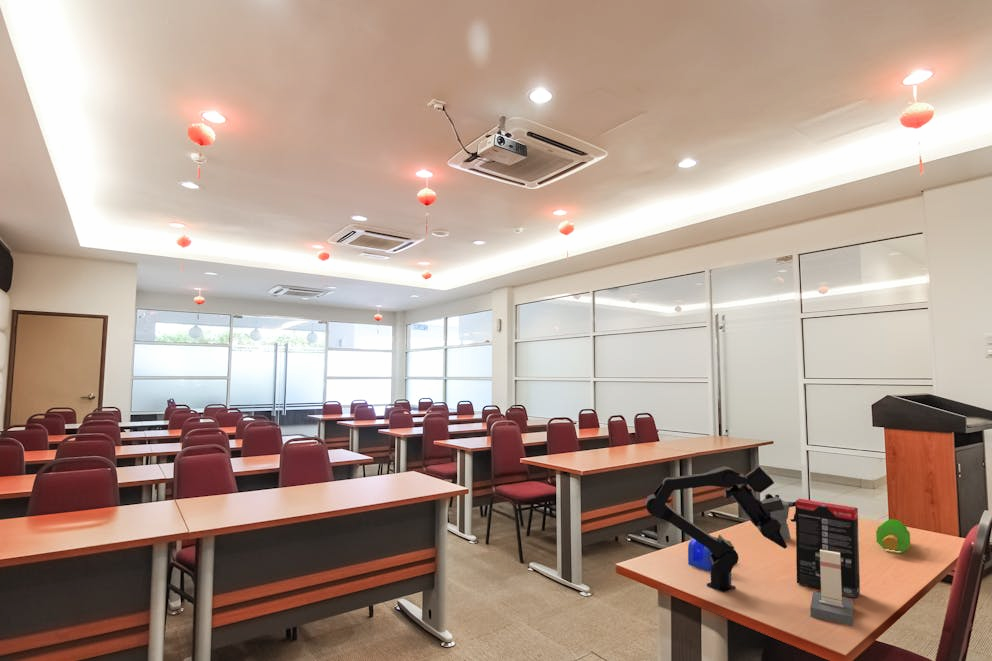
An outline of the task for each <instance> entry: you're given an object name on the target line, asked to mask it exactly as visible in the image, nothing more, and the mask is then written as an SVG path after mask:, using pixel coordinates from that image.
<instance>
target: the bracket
mask: <svg viewBox="0 0 992 661" xmlns="http://www.w3.org/2000/svg"><path fill="white" fill-rule="evenodd" d="M711 554H712V553H711V552H710V550H709V549H708V548H706V547H705V546H703V545H702V544H701V543H699V542H698V541H696V540H695V539H693V538H692V537H691V539H690V540H689V542H688V546H687V561H688V562H687V563H688V564H687V565H689V566H691V567H695V568H698V569H701V570H703V571H705V572H708V571H709V572H711V565H713V564H712V563H711V560H710V558H709V556H710V555H711Z"/></svg>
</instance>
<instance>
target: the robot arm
mask: <svg viewBox="0 0 992 661" xmlns="http://www.w3.org/2000/svg"><path fill="white" fill-rule="evenodd" d="M774 484H775V482H774V480H773V478H771V477H770V475H769V474H767V473H766V472H765V471H764V469H762V468H761V467H760V466H759V465H756V466H755V467H754V468H753V469H752V470H751V471H749V472H748V473H747V474H745V475H744V473H743V474H742V473H739V472H736V471H734V469H733V468H731V467H729V466H725V465H724V466H720V467H717V468H714V469H712V470H709V471H708V472H703V473H696V474H688V475H681V476H672V477H665V478H664V479H663V480H662V481H661V484H659V486H658V487H657V488H656V489H655V490H654V492H653V493H652V494H649V495H648V496H647V497H646V499H645V506H646V511H647V513H648V514H650V515H651V516H653V517H656V518H658V519H659V520H662V521H664V522H668V523H670V524H671V525H673V526H674V527H676V528H677V529H678V530H681V531H682V532H683V533H685V534H686V535H687V536H689V537H690V538H691V539H692V538H693V539H695V540H696V541H698V542H699V543H701V544H702V545H703V546H705V547H706V548H708V549H709V550H710V552H711V553H712V554H711V555H710V556H709V558H710V560H711V563H712V564H713V565H711V571H710V582H707V583H706V586H707V587H709V588H712V589H715V590H718V591H720V592H723V593H726V592H728V591H731V590H732V591H733V590H734V589H737V587H736V586H735V585H733V584H732V572H733V568H734V566H735V565H737V564H738V562H739V554H738V552H737V551H736V549H735V547H734V545H733V544H732V542H731V541H730V540H727V539H725V538H724V537H723V536H722V535H721V534H719V535H718V536H717V537H715V536H712V535H710V534H709V533H708V532H706V531H705V530H703V529H702V528H700V527H699V526H697V525H696V524H694V523H692V522H691V521H690V520H688V519H687V518H685V517H684V516H683V515H681V514H679V513H678V512H677V511H675V510H674V509H673V508H672V507H671V506H670V505H669V504H668V503H667V502H668V500H669V499H670V497H671V495H672V494H673V492H674V491H679V490H686V489H687V490H688V489H693V488H702V487H718V488H724V489H723V490H724V493H723V496H724V497H725V498H726V499H729V498H731V497H732V499H733V500H734V501H735V502H736V503H737V505H738V506H739V508H741V510H742V511H743V512H744V513H745V514H746V515H747V519H748V520H749V521H750V522H751V523H752V525H754V526H755V527H756V528H757V530H758V531H759V532H760V534H761V535H762V536H763V538H766V539H767V540H770V541H771V542H773V543H775V544H776V545H778V546H779V547H781V548H783V549H787V548H788V545H787V543H786V541H784V539H783V537H782V535H781V533H780V528H781V524H780V523H779V522H778V521H777V519H775V518H774V517H770V515H771V513H770V512H773V511H777V510H784V509H785V508H784V506H783V503H782V501H781V500H782V498H780V496H779V497H776V496H773V495H772V494H771V493H767V494H765V495H764V498H763V500H760V499H759V498H757V497H756V496H755V494H754V493H759V494H762V492H764V491H765V490H767V489H768V488H770V487H771V486H772V485H774ZM749 488H750V489H751V490H752V491H753V493H752V491H751V490H750V489H749Z"/></svg>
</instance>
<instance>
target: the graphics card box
mask: <svg viewBox="0 0 992 661" xmlns="http://www.w3.org/2000/svg"><path fill="white" fill-rule="evenodd" d="M794 502H795V506H794V508H795V510H796V522H795V542H796V544H795V546H796V550H795V552H796V556H795V557H796V560H795V561H796V562H795V563H796V565H795V566H796V583H797V584H800V585H804V586H806V587H807V586H808V587H810V588H814V589H818V590H821V572H820V549H821V550H827V551H833V552H839V553H840V562H841V590H842V596H845V597H849V598H851V599H858V597H859V595H860V593H861V587H860V586H861V583H860V582H861V581H860V580H861V579H860V552H859V550H860V548H859V546H860V545H859V544H860V543H859V514H858V513H859V509H858V507H854V506H848V505H842V504H837V503H836V504H835V503H831V502H825V501H823V502H822V501H818V500H817V501H816V500H810V499H805V498H804V499H803V498H798V499H796V500H795V501H794Z"/></svg>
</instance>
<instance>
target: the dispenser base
mask: <svg viewBox="0 0 992 661" xmlns="http://www.w3.org/2000/svg"><path fill="white" fill-rule="evenodd" d="M853 605H854V604H853V598H846V597H843V596H842V605H841V604H836V603H831V602H827V601H822V600H821V592H818V591H814V590H813V591H812V596H811V601H810V608H809V609H810V613H809V614H810V617H812V618H816V619H820V620H825V621H829V622H833V623H837V624H842V625H845V626H851V627H853V626H854V620H853V619H854V612H853V610H854V608H853V607H854V606H853Z"/></svg>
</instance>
